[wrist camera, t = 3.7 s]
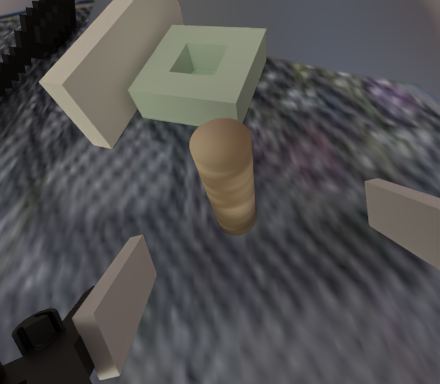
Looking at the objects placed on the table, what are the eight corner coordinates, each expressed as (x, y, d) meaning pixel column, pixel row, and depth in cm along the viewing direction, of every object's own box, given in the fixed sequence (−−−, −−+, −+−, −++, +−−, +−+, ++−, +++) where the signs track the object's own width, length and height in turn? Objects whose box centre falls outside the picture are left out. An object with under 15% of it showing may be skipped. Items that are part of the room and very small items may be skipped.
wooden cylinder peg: (212, 229, 27) (179, 160, 16) (224, 196, 29) (201, 114, 18) (250, 239, 26) (241, 172, 15) (260, 204, 27) (258, 122, 17)
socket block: (143, 119, 37) (127, 90, 32) (181, 56, 43) (172, 24, 38) (239, 134, 33) (235, 103, 29) (266, 63, 39) (266, 28, 35)
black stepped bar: (-42, 162, 38) (-105, 126, 32) (-58, 156, 39) (-123, 120, 33) (92, 21, 52) (68, -24, 46) (77, 20, 54) (52, -24, 47)
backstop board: (93, 145, 35) (38, 81, 26) (170, 31, 46) (149, -40, 38) (112, 149, 34) (61, 84, 26) (186, 31, 45) (168, -41, 37)
